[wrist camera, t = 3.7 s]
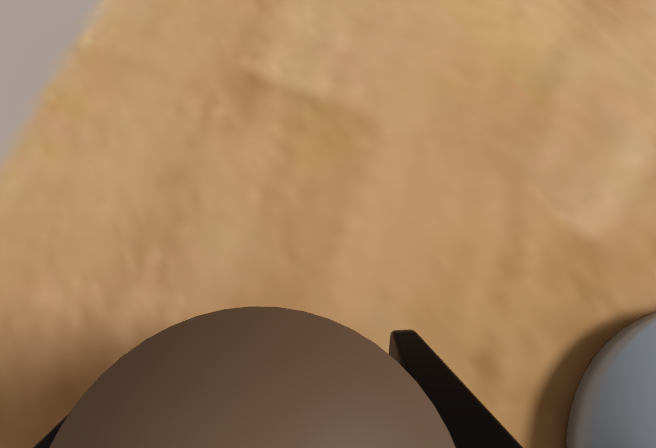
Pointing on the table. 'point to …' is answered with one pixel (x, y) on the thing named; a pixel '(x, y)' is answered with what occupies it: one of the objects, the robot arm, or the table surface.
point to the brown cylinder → (255, 389)
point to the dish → (618, 392)
